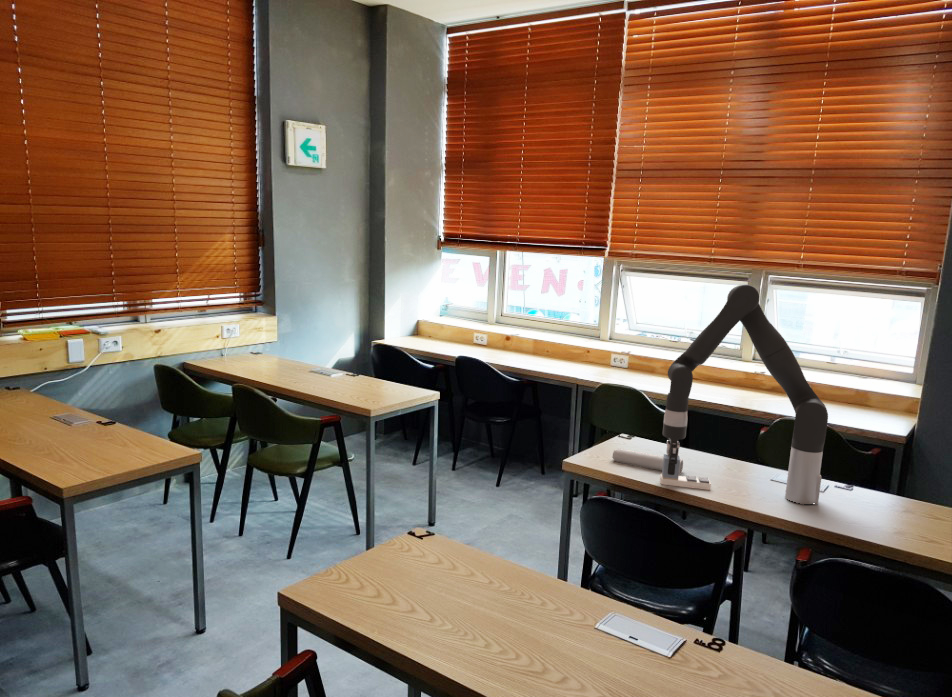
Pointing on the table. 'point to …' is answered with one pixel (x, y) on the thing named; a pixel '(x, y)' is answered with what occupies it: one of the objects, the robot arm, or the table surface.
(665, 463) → the block
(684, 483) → the board
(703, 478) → the mark
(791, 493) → the robot arm
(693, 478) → the mark
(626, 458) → the tube
